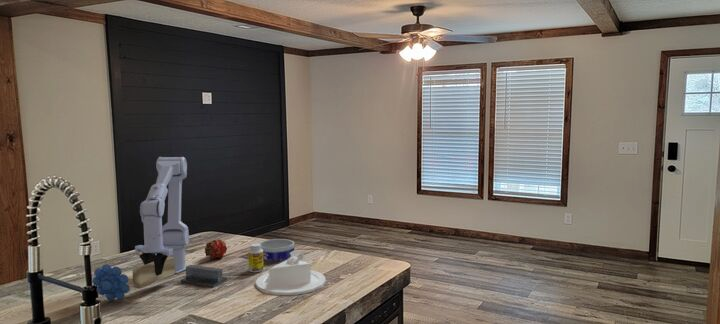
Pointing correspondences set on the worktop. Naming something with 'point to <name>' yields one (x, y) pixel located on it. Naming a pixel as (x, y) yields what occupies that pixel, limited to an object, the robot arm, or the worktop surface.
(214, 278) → the balance ridge
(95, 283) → the grapes
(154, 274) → the maple bar
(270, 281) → the dish
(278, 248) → the dog bowl
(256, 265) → the supplement bottle
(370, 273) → the worktop surface
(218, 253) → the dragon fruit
